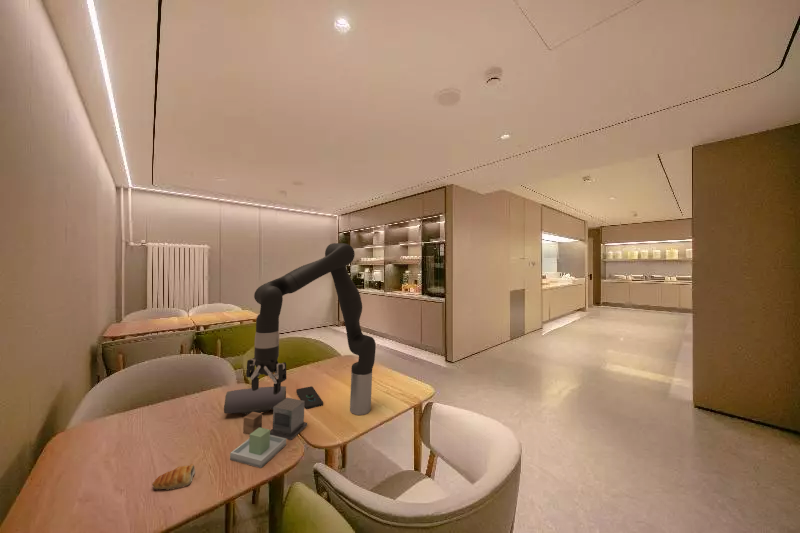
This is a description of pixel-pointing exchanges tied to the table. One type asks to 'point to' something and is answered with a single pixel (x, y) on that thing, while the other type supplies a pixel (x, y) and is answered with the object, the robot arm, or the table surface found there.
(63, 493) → the table surface
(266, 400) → the bluetooth speaker
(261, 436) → the green block
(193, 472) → the pastry
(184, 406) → the table surface
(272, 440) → the tray
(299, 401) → the housing
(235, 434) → the table surface
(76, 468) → the table surface
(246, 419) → the walnut block
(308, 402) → the smart home device
